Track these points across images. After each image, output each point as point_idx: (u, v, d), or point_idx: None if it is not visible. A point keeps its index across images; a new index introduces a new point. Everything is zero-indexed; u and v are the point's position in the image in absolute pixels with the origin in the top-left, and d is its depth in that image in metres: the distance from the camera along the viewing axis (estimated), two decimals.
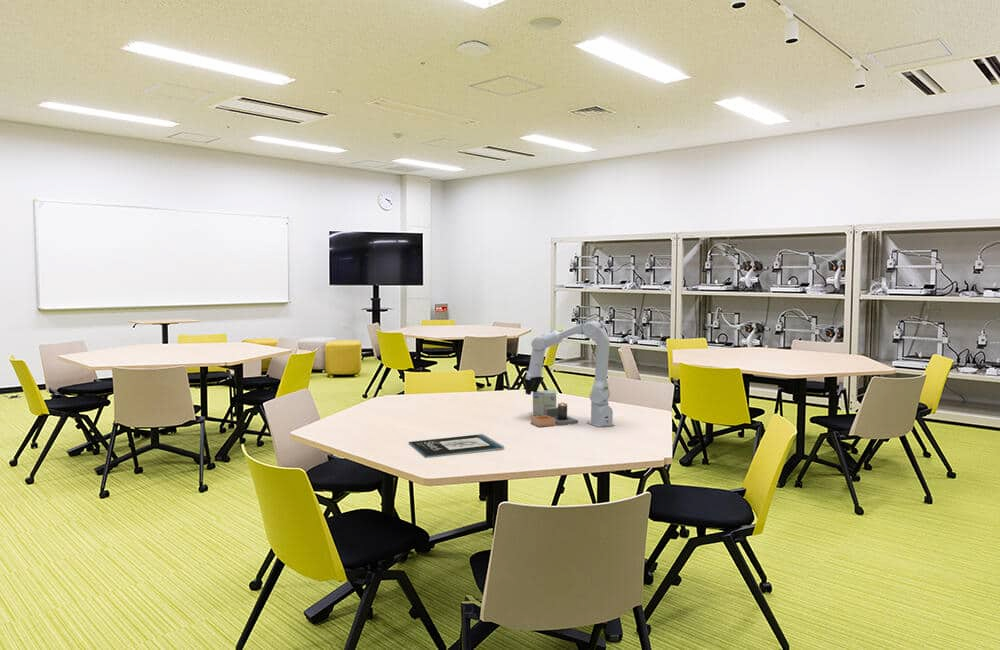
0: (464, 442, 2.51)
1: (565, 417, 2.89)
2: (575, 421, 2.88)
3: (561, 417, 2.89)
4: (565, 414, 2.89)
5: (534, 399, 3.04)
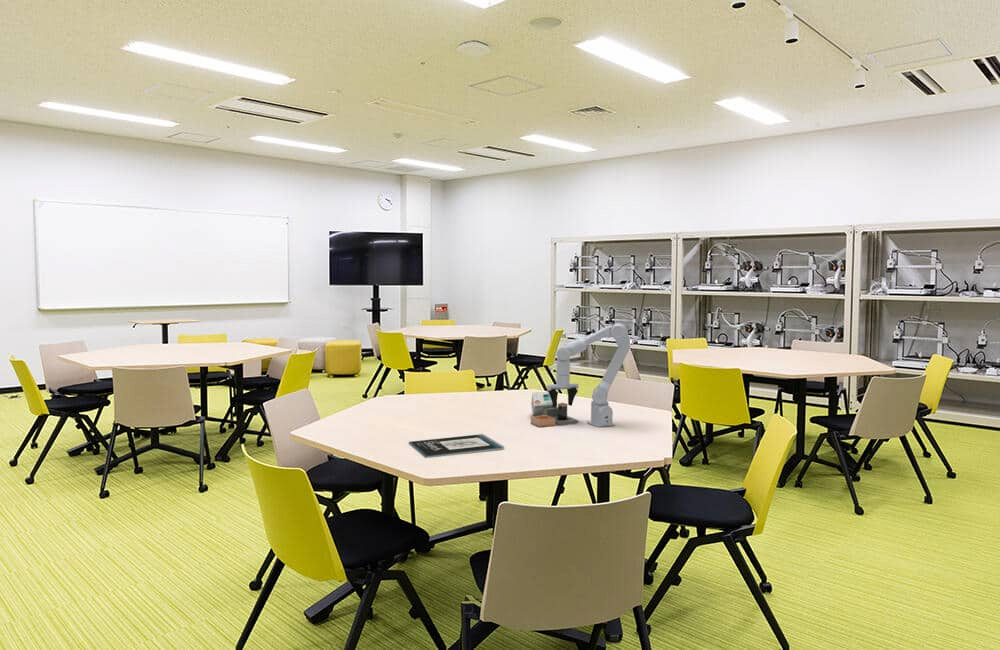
0: (464, 442, 2.51)
1: (565, 417, 2.89)
2: (575, 421, 2.88)
3: (561, 417, 2.89)
4: (565, 414, 2.89)
5: (535, 408, 2.97)
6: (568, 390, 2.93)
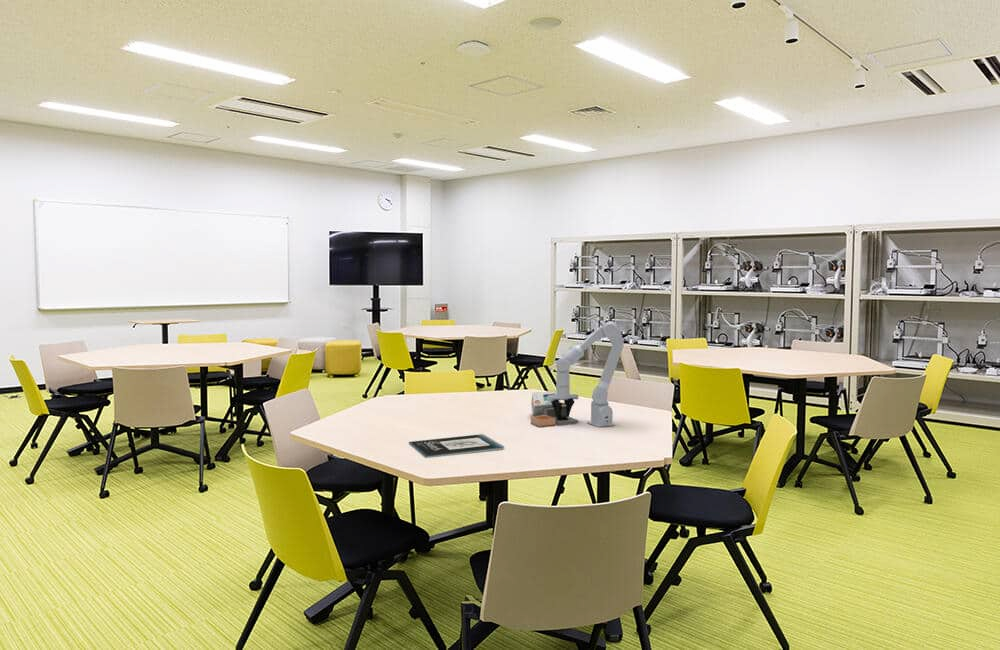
0: (464, 442, 2.51)
1: (565, 417, 2.89)
2: (575, 421, 2.88)
3: (561, 417, 2.89)
4: (565, 414, 2.89)
5: (535, 408, 2.97)
6: (565, 401, 2.92)
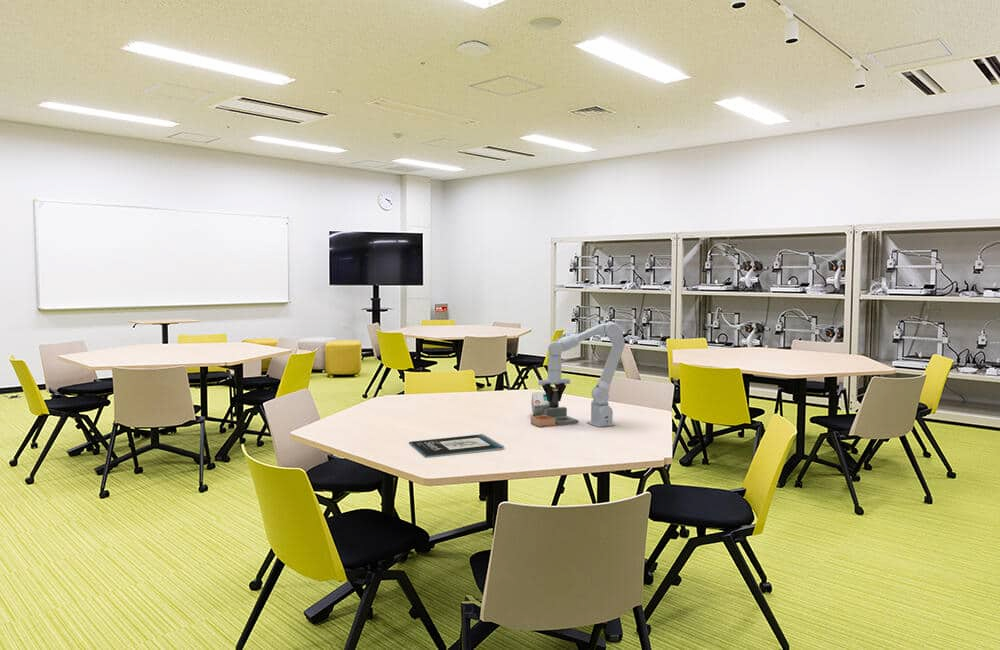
0: (464, 442, 2.51)
1: (556, 401, 2.86)
2: (575, 421, 2.88)
3: (553, 401, 2.86)
4: (556, 398, 2.86)
5: (535, 408, 2.97)
6: (557, 385, 2.90)
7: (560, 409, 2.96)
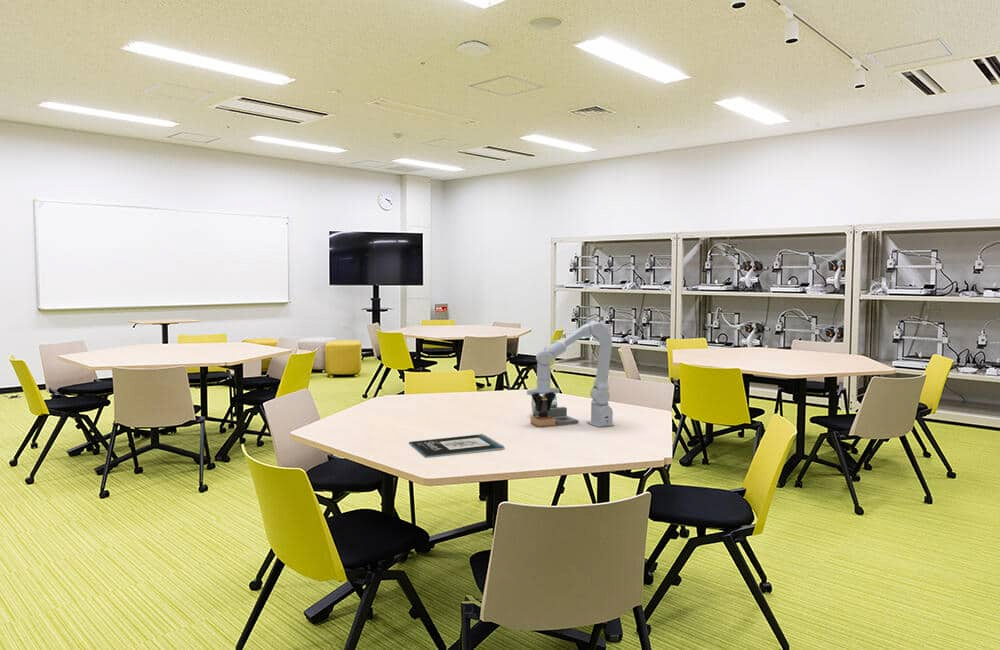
0: (464, 442, 2.51)
1: (546, 411, 2.84)
2: (575, 421, 2.88)
3: (542, 411, 2.83)
4: (546, 408, 2.84)
5: (535, 408, 2.97)
6: (546, 395, 2.87)
7: (560, 409, 2.96)
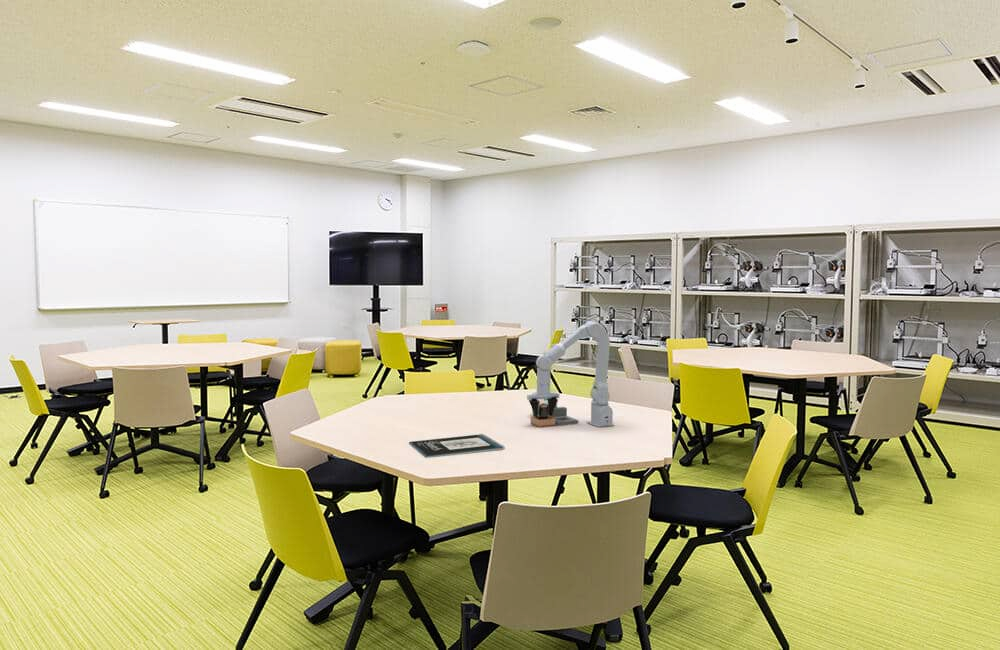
0: (464, 442, 2.51)
1: (546, 418, 2.84)
2: (575, 421, 2.88)
3: (542, 418, 2.84)
4: (546, 415, 2.84)
5: None
6: (548, 400, 2.88)
7: (560, 409, 2.96)
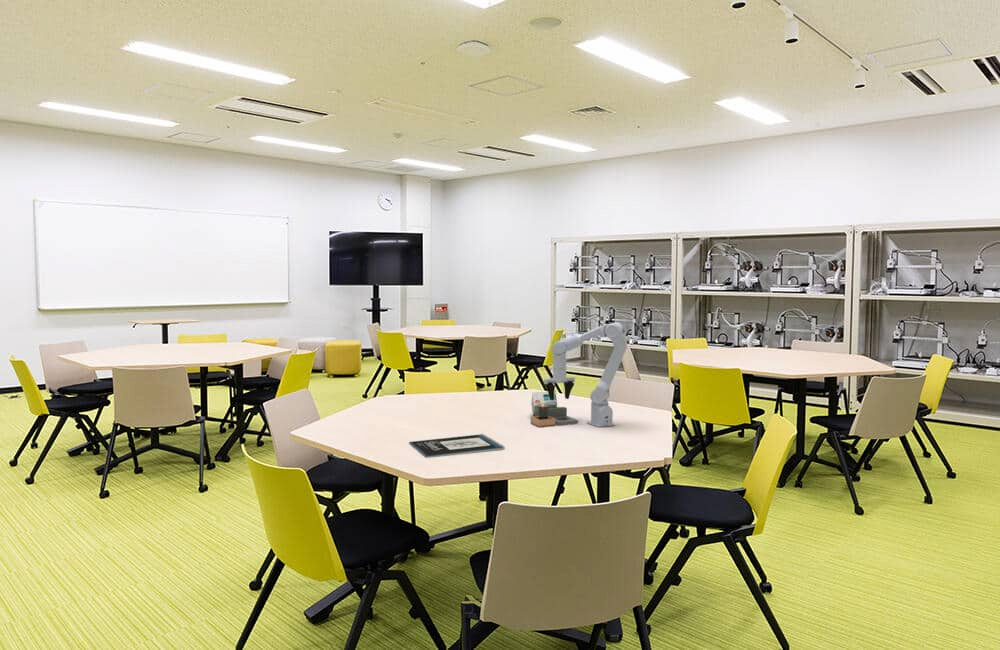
0: (464, 442, 2.51)
1: (546, 418, 2.84)
2: (575, 421, 2.88)
3: (542, 417, 2.84)
4: (546, 415, 2.84)
5: (535, 408, 2.97)
6: (565, 384, 2.96)
7: (560, 409, 2.96)
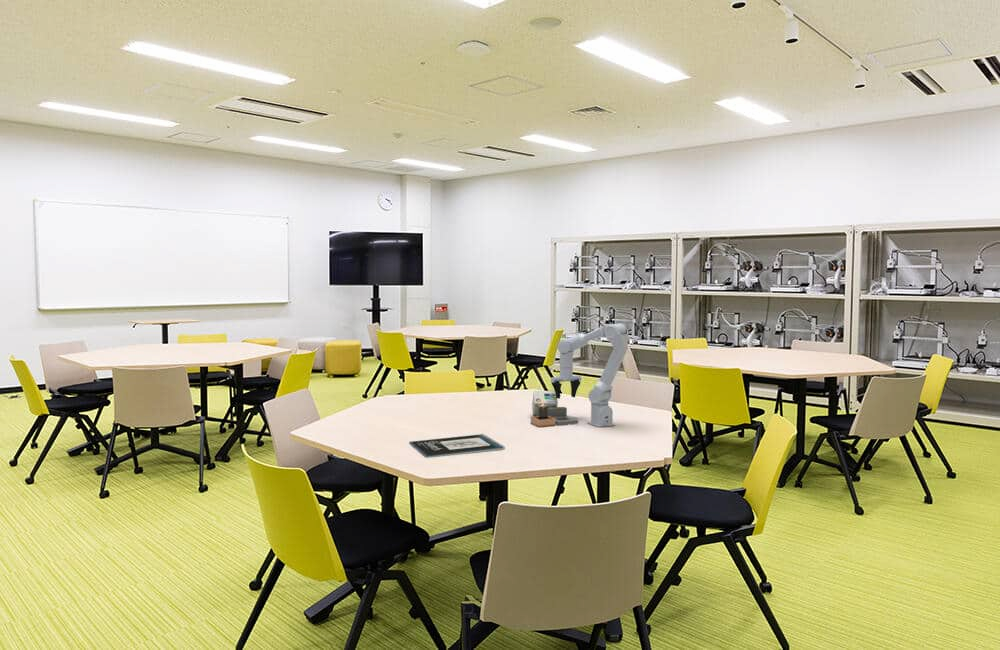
0: (465, 442, 2.51)
1: (546, 418, 2.84)
2: (575, 421, 2.88)
3: (542, 417, 2.84)
4: (546, 415, 2.84)
5: (535, 407, 2.98)
6: (571, 382, 3.00)
7: (560, 409, 2.96)
